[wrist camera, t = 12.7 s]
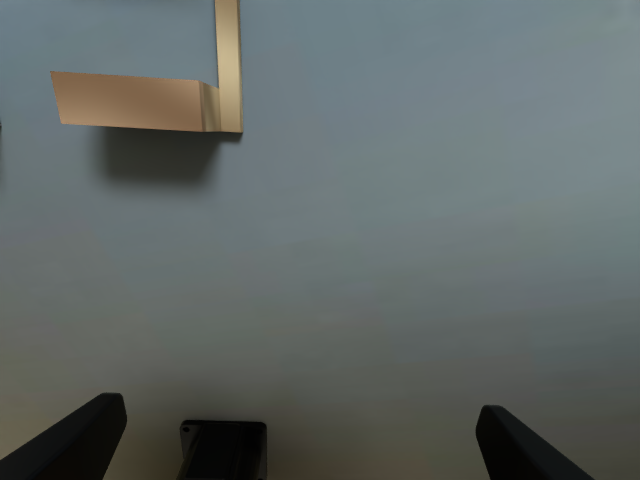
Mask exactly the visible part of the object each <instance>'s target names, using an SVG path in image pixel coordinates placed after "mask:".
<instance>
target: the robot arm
mask: <svg viewBox="0 0 640 480" xmlns="http://www.w3.org/2000/svg"><path fill="white" fill-rule="evenodd" d="M126 424H127V414H126V409H125V405H124V400H123V396H122V395H121V394H120V393H102V394H100V395H98V396H97V397H95V398H94V399H92V400H91V401H89V402H88V403H86V404H85V405H83V406H82V407H80V408H79V409H77V410H75V411H74V412H72V413H71V414H69V415H68V416H66V417H65V418H63V419H62V420H60V421H59V422H57V423H56V424H54V425H53V426H51V427H50V428H48V429H47V430H45V431H44V432H42V433H41V434H39V435H38V436H36V437H35V438H33V439H32V440H30V441H29V442H27V443H26V444H24V445H23V446H21V447H20V448H18V449H17V450H15V451H14V452H12V453H10V454H9V455H7V456H6V457H4V458H3V459H1V460H0V480H102V479H103V477H104V475H105V473H106V470H107V468H108V466H109V464H110V461H111V459H112V457H113V455H114V452H115V450H116V448H117V446H118V443H119V441H120V439H121V437H122V434H123V432H124V430H125V427H126ZM180 435H181V443H182V450H183V458H184V461H183V464H182V466H181V469H180V471H179V474H178V476H177V479H176V480H266V478H267V426H266V424H264V423H262V422H237V421H202V420H185V421H183V422H182V424H181V427H180ZM476 438H477V441H478V444H479V447H480V450H481V453H482V456H483V459H484V462H485V465H486V468H487V471H488V474H489V477H490V479H491V480H595V479H593V478H592V477H591V476H590V475H588V474H587V473H586V472H585V471H583V470H582V469H581V468H579V467H578V466H577V465H576V464H574V463H573V462H572V461H571V460H569V459H568V458H567V457H566V456H564V455H563V454H562V453H560V452H559V451H558V450H557V449H555V448H554V447H553V446H552V445H550V444H549V443H548V442H547V441H545V440H544V439H543V438H542V437H540V436H539V435H538V434H536V433H535V432H534V431H533V430H531V429H530V428H529V427H528V426H526V425H525V424H524V423H523V422H521V421H520V420H519V419H517V418H516V417H515V416H514V415H512V414H511V413H510V412H509V411H507V410H506V409H505V408H503V407H502V406H499V405H484V406H483V407H482V409H481V412H480V416H479V419H478V422H477V425H476Z"/></svg>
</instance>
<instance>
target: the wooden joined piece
mask: <svg viewBox="0 0 640 480" xmlns="http://www.w3.org/2000/svg"><path fill="white" fill-rule="evenodd" d="M215 11H216V32H217V52H218V72H219V89H218V88H215V87H213V86H211V85H208V84H206V83H203V82H201V81H197V80H181V79H165V78H149V77H134V76H118V75H102V74H86V73H71V72H55V71H50V73H51V77H52V82H53V87H54V91H55V96H56V101H57V106H58V110H59V115H60V120H61V124H78V125H96V126H113V127H130V128H147V129H164V130H181V131H198V132H212V131H225V132H243V109H242V72H241V35H240V0H215Z"/></svg>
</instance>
